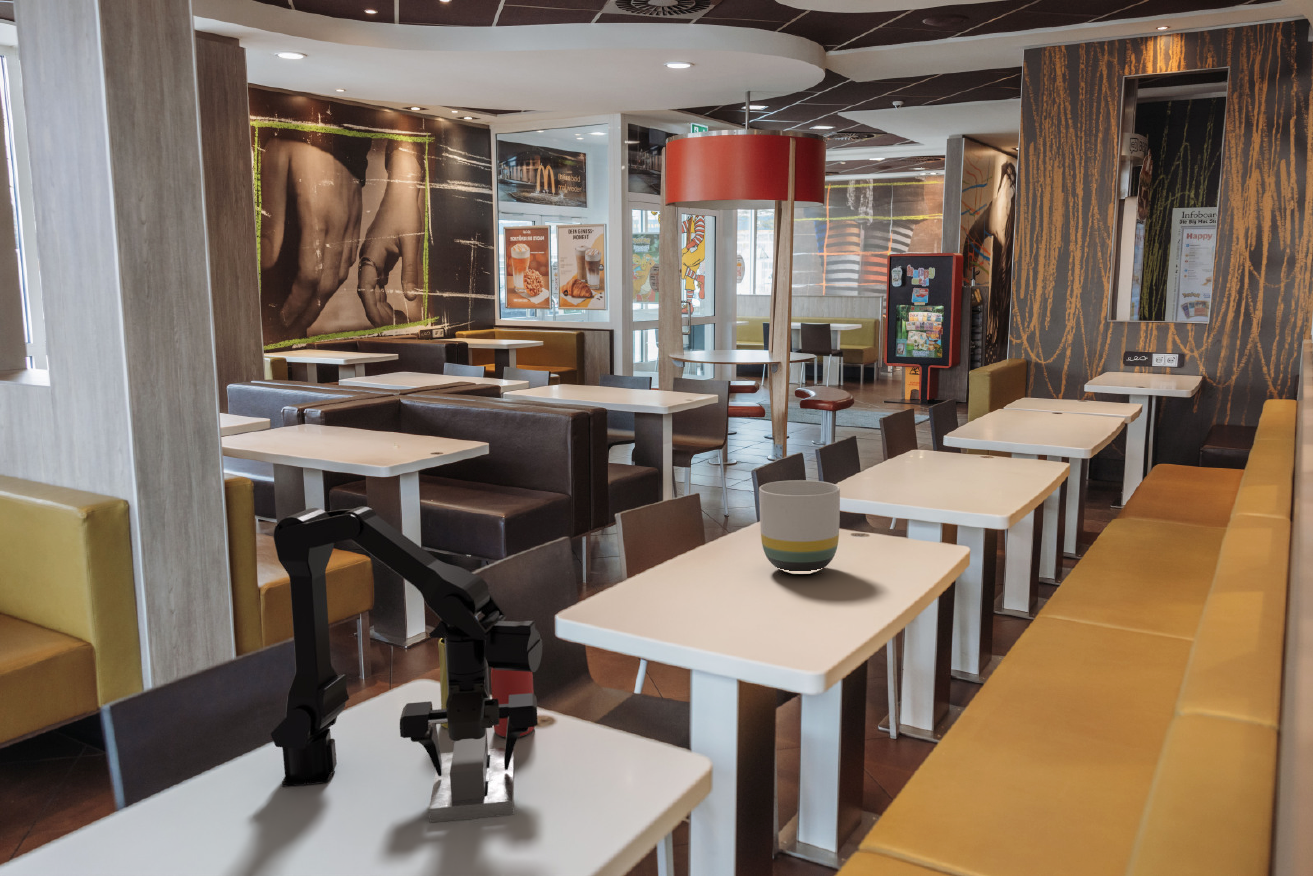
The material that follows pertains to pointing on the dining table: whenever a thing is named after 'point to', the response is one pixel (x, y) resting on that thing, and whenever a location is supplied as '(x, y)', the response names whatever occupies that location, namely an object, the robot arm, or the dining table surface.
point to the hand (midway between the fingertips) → (473, 772)
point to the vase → (443, 676)
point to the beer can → (509, 692)
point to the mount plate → (490, 806)
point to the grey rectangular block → (469, 769)
